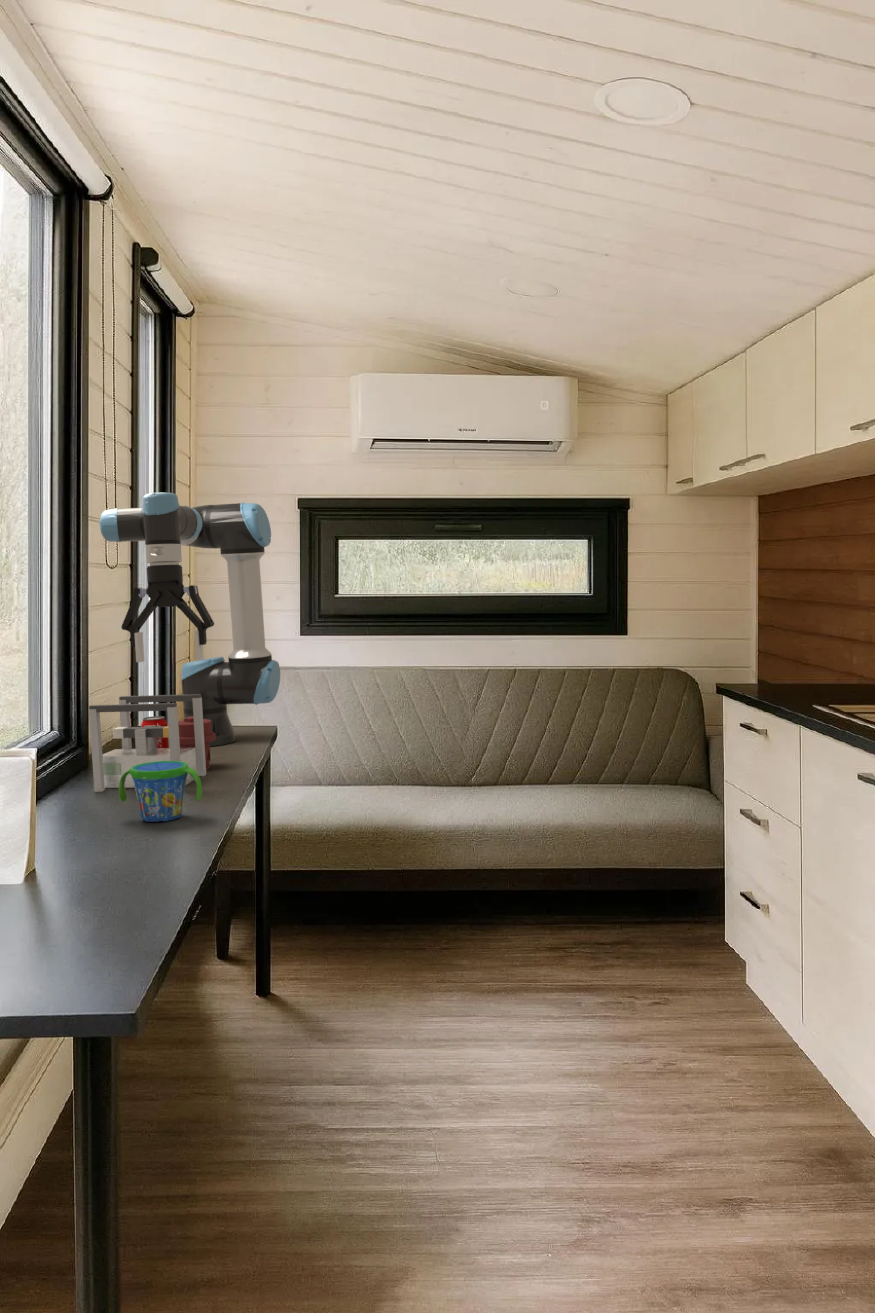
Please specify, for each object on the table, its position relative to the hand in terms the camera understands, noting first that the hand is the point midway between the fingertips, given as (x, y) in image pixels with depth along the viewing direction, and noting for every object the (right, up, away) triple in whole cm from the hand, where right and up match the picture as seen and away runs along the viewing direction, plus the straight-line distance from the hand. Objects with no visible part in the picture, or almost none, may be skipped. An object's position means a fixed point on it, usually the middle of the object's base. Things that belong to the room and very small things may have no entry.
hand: (169, 661), depth 218 cm
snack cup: (+7, -30, -31) cm, 43 cm away
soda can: (-9, -26, +22) cm, 35 cm away
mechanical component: (+1, -26, +18) cm, 32 cm away
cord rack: (-5, -27, +3) cm, 28 cm away
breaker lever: (-6, -17, +2) cm, 18 cm away
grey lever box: (-5, -27, +3) cm, 28 cm away
